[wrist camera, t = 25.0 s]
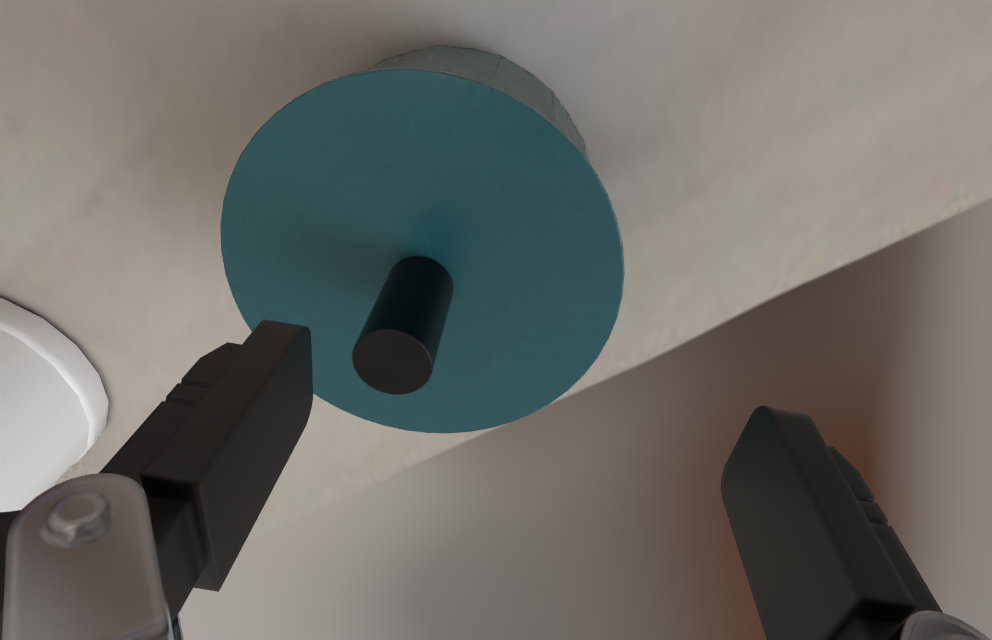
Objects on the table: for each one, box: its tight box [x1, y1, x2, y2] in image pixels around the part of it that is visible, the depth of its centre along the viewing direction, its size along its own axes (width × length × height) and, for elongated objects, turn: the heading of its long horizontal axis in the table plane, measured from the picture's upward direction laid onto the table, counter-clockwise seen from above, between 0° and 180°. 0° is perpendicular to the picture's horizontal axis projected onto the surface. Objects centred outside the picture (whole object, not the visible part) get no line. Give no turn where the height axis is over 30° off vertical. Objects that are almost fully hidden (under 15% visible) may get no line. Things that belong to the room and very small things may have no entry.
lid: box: [221, 67, 624, 433], centre depth 19 cm, size 15×15×6 cm
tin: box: [368, 45, 588, 160], centre depth 25 cm, size 14×14×10 cm
